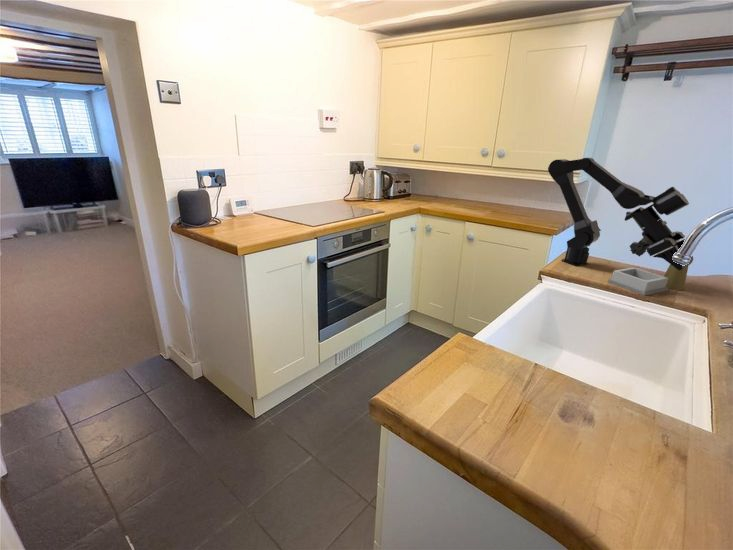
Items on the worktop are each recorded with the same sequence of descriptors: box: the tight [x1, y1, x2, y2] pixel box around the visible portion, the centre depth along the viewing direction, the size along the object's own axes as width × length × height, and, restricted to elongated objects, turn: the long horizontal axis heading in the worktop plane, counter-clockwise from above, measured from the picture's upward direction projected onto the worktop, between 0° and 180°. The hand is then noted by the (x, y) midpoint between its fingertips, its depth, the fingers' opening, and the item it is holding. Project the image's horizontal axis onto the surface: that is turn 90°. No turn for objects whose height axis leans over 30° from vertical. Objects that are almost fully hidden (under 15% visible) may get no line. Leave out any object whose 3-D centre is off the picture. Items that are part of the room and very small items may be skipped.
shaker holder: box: [607, 267, 669, 296], centre depth 110 cm, size 11×11×4 cm
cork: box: [663, 255, 694, 291], centre depth 109 cm, size 6×6×11 cm
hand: (684, 266), depth 107 cm, fingers open, 9 cm apart
